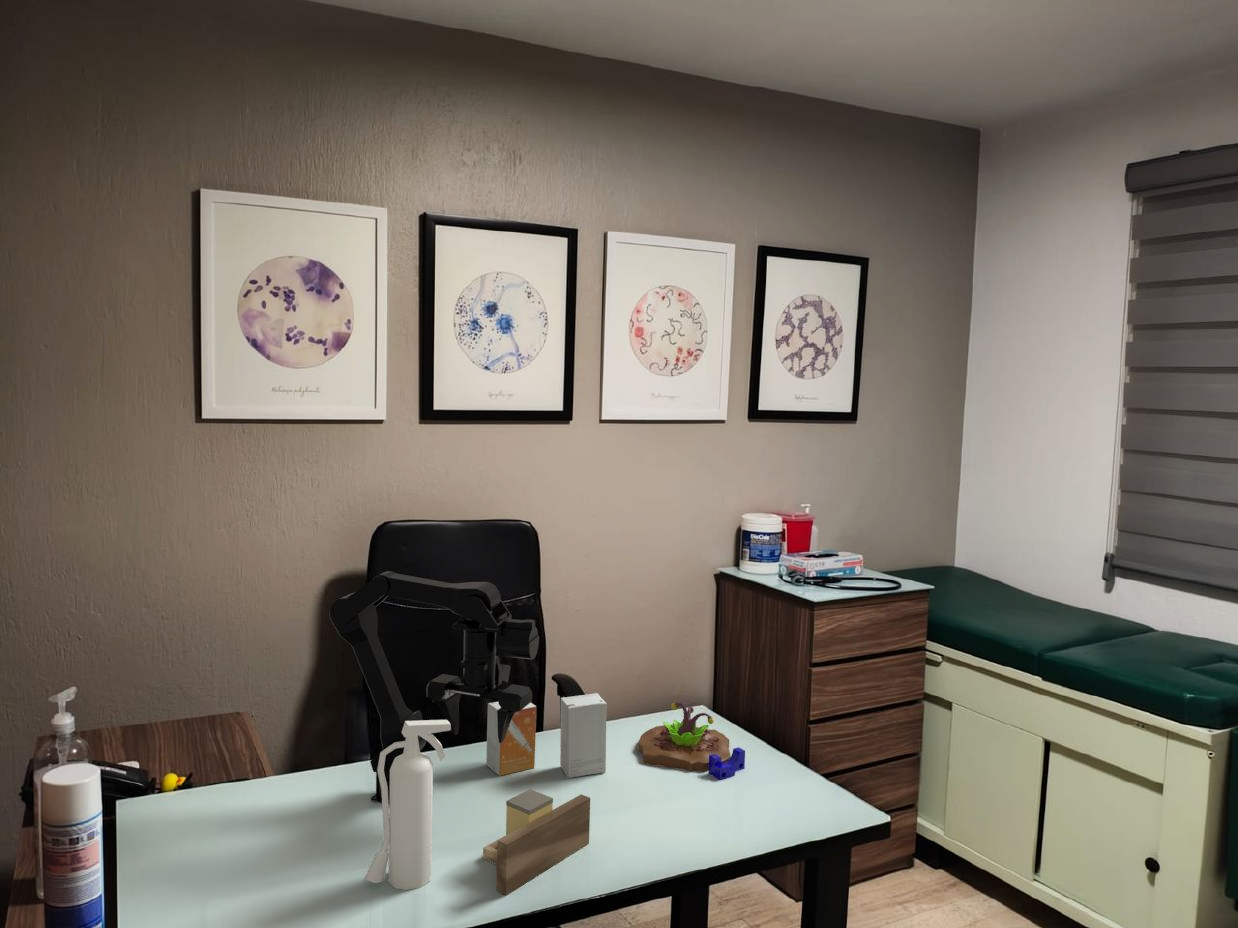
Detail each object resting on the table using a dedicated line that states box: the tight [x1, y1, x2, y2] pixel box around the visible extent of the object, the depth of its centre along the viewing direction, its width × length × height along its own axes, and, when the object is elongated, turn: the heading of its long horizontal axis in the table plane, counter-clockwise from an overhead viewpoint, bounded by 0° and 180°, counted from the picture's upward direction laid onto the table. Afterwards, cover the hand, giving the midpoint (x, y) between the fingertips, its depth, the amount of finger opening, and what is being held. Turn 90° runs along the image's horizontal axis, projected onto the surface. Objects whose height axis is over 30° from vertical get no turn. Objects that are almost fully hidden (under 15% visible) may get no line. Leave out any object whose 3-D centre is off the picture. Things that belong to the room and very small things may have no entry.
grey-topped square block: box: [505, 788, 554, 835], centre depth 142 cm, size 5×6×10 cm
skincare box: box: [559, 692, 608, 779], centre depth 175 cm, size 8×6×15 cm
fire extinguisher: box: [364, 719, 451, 891], centre depth 134 cm, size 7×12×25 cm, turn 116°
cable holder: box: [707, 747, 746, 781], centre depth 177 cm, size 8×4×4 cm, turn 124°
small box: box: [486, 701, 537, 777], centre depth 176 cm, size 8×6×13 cm
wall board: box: [482, 793, 591, 896], centre depth 142 cm, size 10×20×8 cm, turn 143°
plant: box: [637, 701, 731, 773], centre depth 186 cm, size 20×20×11 cm
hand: (478, 738), depth 158 cm, fingers open, 9 cm apart
